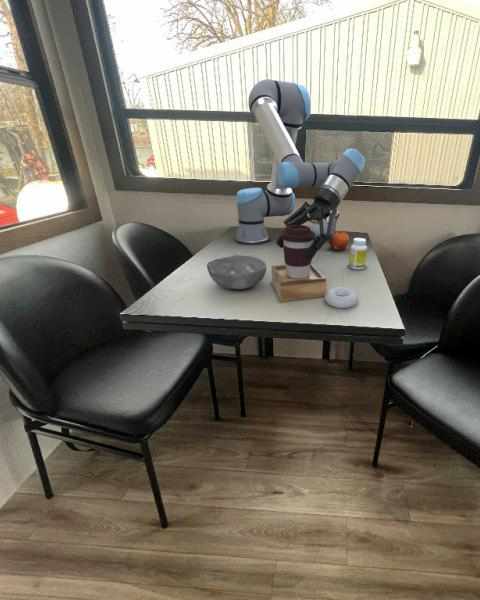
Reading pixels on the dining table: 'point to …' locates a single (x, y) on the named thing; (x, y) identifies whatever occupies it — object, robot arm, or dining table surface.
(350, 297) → the donut
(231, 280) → the bowl
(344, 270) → the dining table surface
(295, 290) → the wooden box
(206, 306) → the dining table surface
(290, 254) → the coffee cup
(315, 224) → the lidded bowl
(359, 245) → the pill bottle
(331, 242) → the tomato
